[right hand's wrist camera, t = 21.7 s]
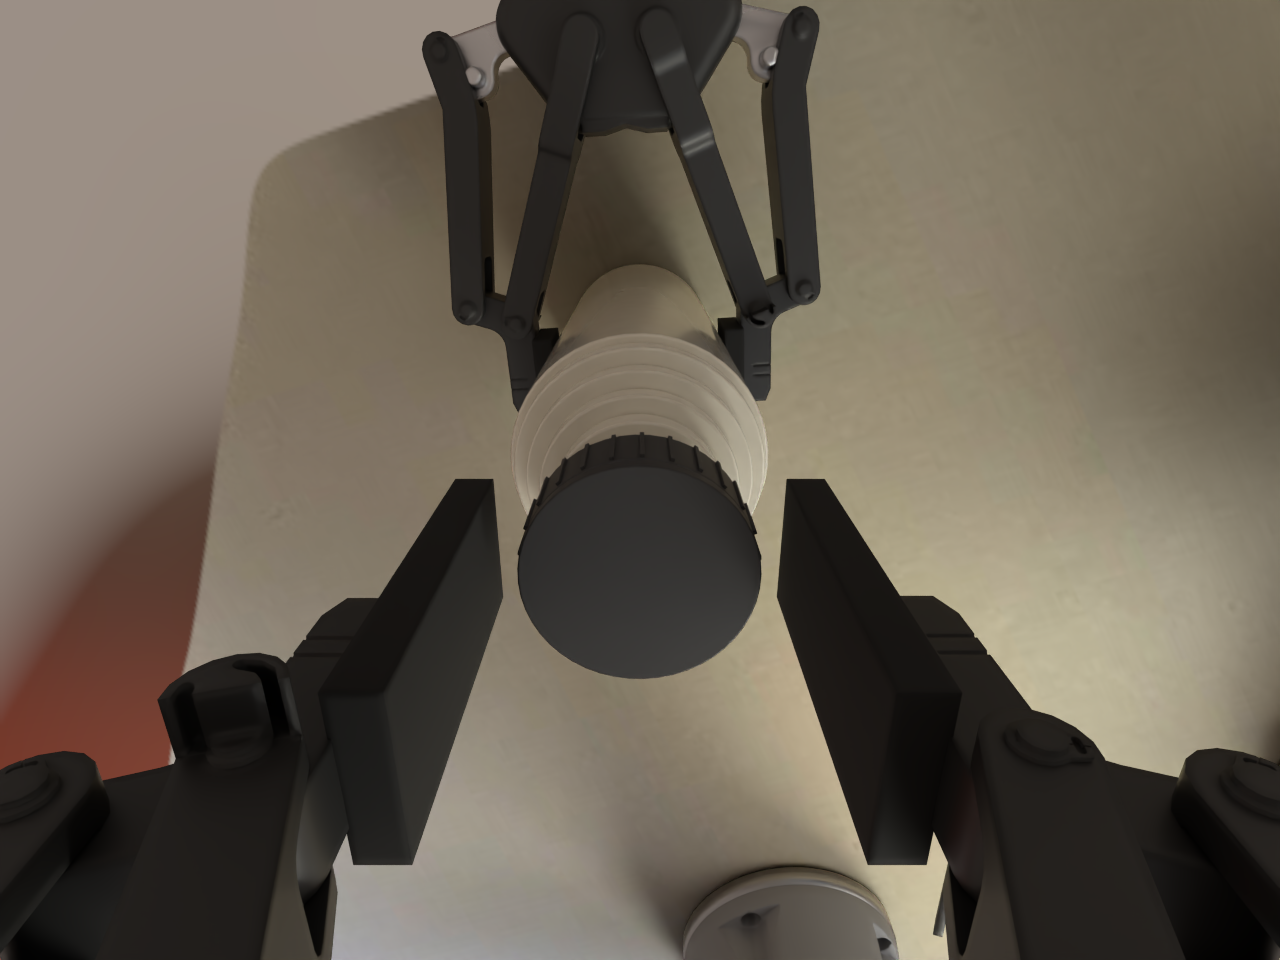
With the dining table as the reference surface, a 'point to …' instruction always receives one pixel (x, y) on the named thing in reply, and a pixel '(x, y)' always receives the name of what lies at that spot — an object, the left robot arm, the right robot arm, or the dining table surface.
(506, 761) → the dining table surface
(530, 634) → the dining table surface
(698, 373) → the bottle
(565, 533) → the cap
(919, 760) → the right robot arm
